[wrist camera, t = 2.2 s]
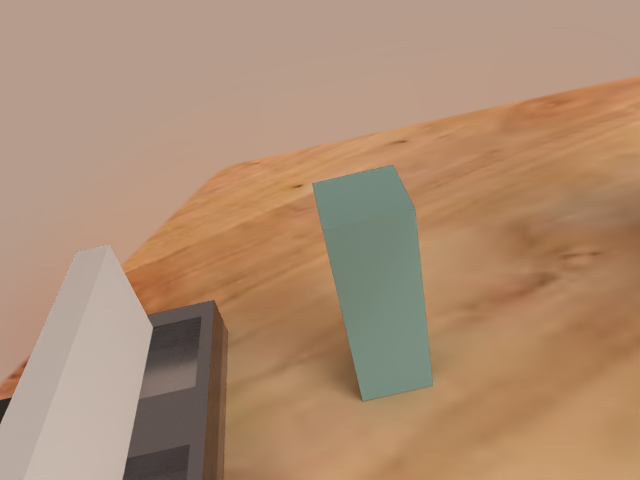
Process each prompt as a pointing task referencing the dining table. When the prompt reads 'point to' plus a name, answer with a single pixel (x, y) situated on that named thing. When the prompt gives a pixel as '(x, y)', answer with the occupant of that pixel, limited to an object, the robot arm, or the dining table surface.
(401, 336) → the sage green upright block
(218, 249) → the dining table surface
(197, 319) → the compartment tray
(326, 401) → the dining table surface
